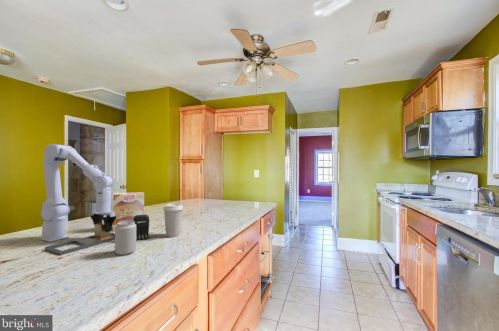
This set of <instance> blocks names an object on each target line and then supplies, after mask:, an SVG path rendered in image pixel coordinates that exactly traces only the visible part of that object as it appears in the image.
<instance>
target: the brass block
mask: <svg viewBox="0 0 499 331" xmlns="http://www.w3.org/2000/svg"><path fill="white" fill-rule="evenodd" d="M110 233H111V231H110V232H105V225H104V221H102V223H97V224H95V226H94V235H95V239H96V240H104V239H108V238H110Z"/></svg>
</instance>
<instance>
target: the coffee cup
mask: <svg viewBox="0 0 499 331" xmlns="http://www.w3.org/2000/svg"><path fill="white" fill-rule="evenodd" d="M162 210H163V214H164V225H165V226H164V228H165V236H166V238H167V237H168V238H176V237H180V235H181V227H182V226H181V225H182V216H183V210H184V206H183V205H182V204H180V203H169V204H164V207H163V208H162Z"/></svg>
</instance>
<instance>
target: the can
mask: <svg viewBox="0 0 499 331" xmlns="http://www.w3.org/2000/svg"><path fill="white" fill-rule="evenodd" d="M114 234H115V240H114V253H115V254H117V256H128V255H131V254H133V253H135V251H136V250H137V240H136V224H135V222H134V221H122V222H119V223H117V226H116V227H115V231H114Z"/></svg>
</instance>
